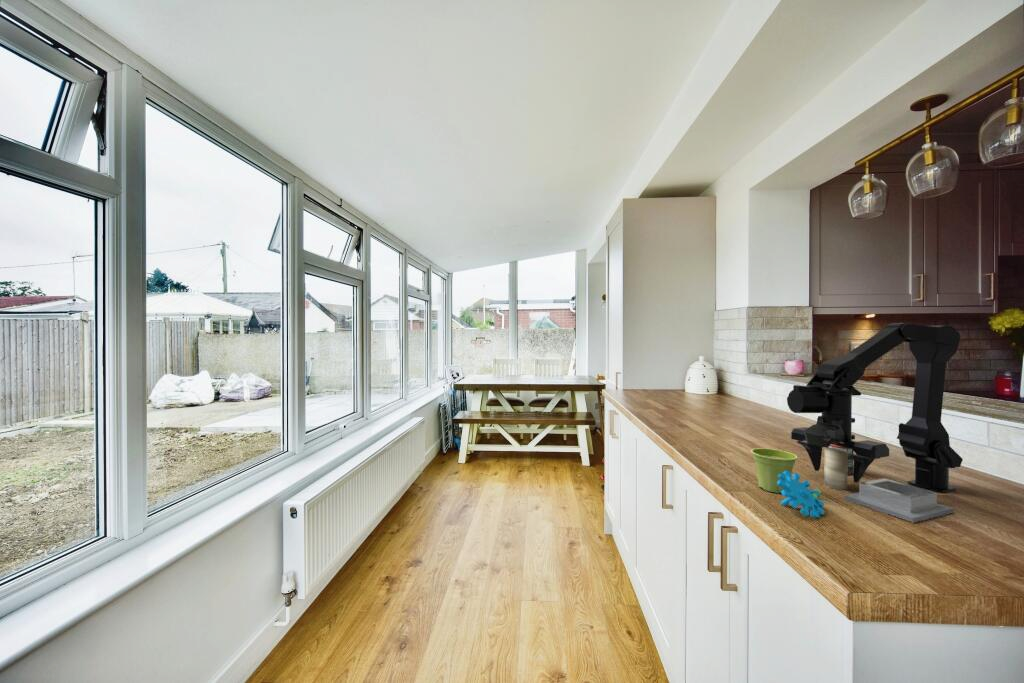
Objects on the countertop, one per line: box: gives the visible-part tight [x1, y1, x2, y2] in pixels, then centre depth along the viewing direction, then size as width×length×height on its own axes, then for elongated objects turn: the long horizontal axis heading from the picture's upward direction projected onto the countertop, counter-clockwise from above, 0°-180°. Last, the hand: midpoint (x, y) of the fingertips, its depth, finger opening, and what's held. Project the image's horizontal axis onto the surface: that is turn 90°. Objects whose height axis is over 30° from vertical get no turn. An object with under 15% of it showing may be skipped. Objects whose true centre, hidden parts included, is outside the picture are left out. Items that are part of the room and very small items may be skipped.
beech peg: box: [823, 447, 848, 491], centre depth 97 cm, size 4×4×9 cm
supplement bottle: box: [824, 440, 854, 475], centre depth 108 cm, size 6×6×11 cm
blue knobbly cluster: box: [777, 471, 825, 519], centre depth 84 cm, size 11×6×10 cm
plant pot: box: [750, 447, 798, 494], centre depth 95 cm, size 9×9×9 cm
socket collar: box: [858, 478, 938, 513], centre depth 86 cm, size 9×9×3 cm
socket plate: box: [843, 491, 954, 523], centre depth 86 cm, size 14×12×1 cm
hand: (835, 476), depth 97 cm, fingers open, 8 cm apart
